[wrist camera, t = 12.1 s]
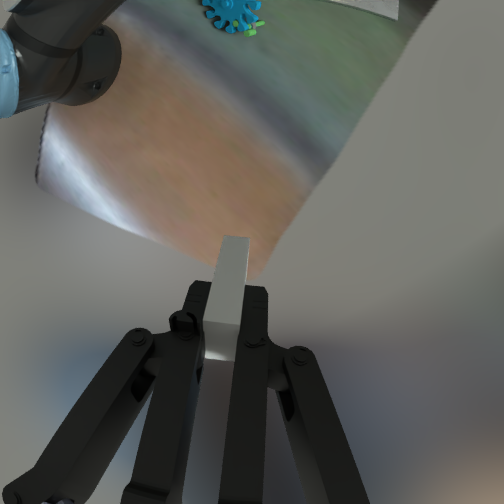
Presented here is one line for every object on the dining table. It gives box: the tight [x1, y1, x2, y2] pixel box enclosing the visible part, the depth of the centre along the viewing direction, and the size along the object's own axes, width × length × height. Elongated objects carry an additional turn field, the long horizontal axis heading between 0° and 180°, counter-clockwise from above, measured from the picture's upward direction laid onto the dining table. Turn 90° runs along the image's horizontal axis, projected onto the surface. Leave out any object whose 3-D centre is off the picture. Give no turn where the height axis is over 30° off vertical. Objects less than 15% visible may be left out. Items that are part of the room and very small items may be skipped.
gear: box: [202, 0, 265, 37], centre depth 27 cm, size 11×6×10 cm
